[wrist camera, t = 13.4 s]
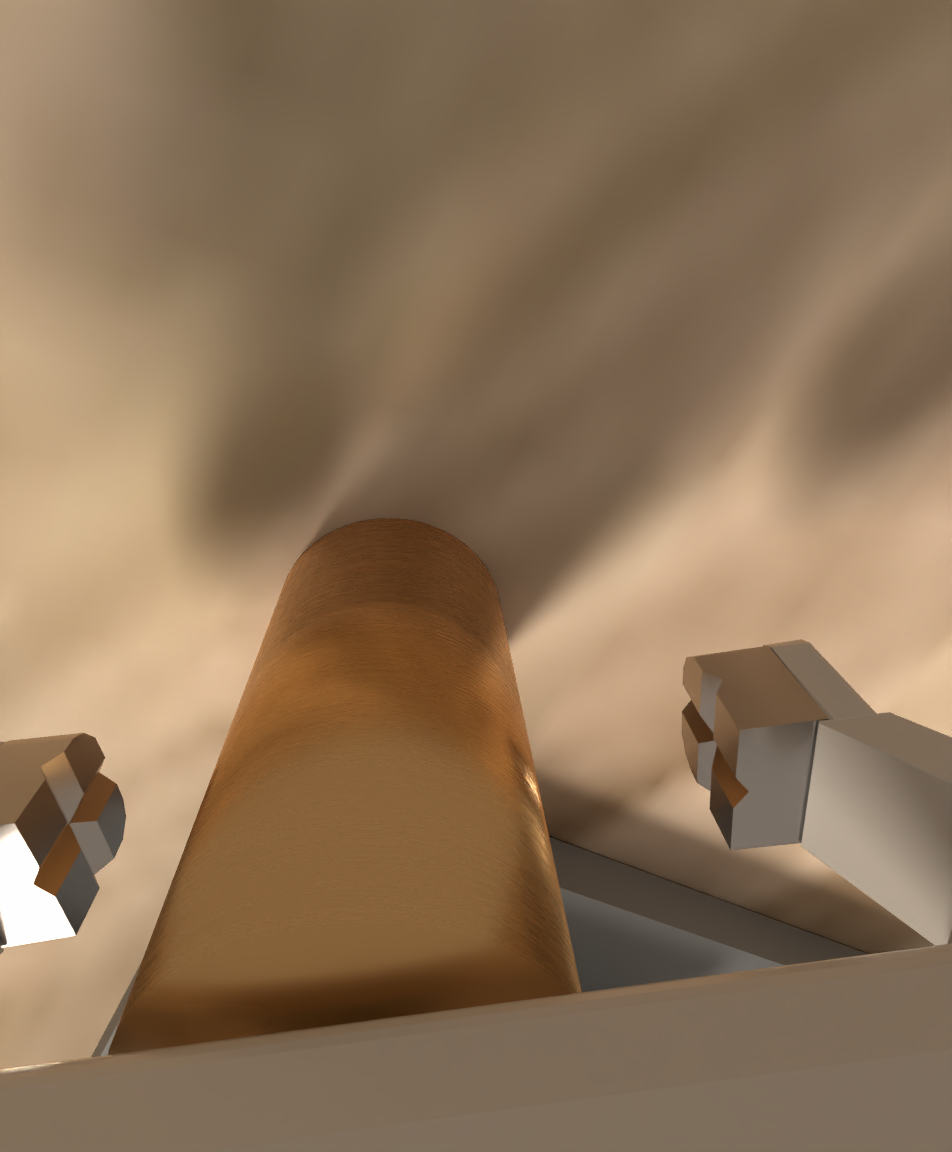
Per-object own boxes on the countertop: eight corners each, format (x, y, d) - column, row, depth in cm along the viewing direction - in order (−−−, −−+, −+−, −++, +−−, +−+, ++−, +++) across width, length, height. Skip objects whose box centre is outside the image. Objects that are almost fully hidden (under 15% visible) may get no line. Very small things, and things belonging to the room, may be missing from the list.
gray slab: (70, 1096, 17) (-3, 1277, 14) (263, 732, 12) (216, 884, 9) (775, 1240, 23) (826, 1387, 20) (1069, 1028, 18) (1190, 1176, 15)
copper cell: (245, 662, 12) (5, 1264, 5) (335, 478, 10) (177, 952, 4) (437, 736, 13) (456, 1325, 6) (541, 577, 11) (719, 1095, 5)
